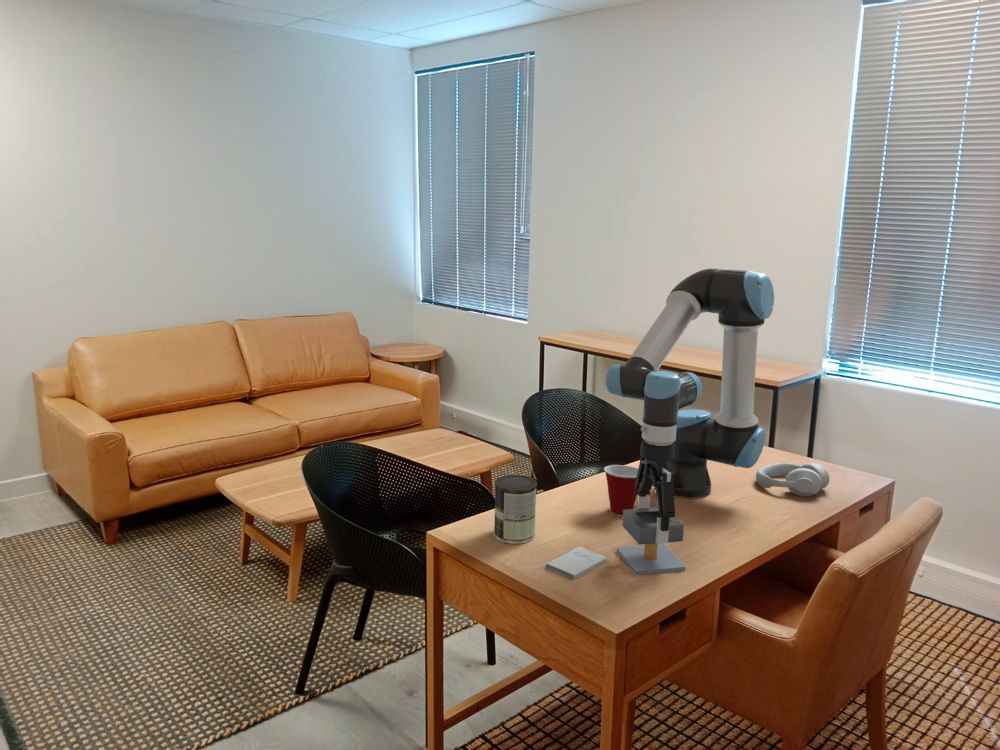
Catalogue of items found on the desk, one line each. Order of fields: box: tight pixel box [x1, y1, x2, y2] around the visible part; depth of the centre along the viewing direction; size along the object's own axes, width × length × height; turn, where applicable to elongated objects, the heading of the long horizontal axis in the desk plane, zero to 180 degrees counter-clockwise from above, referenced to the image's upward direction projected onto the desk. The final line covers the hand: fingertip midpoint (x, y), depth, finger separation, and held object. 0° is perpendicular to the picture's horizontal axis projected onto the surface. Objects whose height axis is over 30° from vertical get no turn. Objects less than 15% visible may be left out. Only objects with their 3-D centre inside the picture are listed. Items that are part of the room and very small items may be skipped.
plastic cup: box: [603, 464, 640, 517], centre depth 209 cm, size 11×11×12 cm
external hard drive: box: [545, 546, 608, 581], centre depth 179 cm, size 2×8×12 cm
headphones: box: [755, 462, 830, 497], centre depth 230 cm, size 18×8×20 cm
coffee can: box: [493, 474, 538, 545], centre depth 192 cm, size 10×10×14 cm
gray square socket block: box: [621, 507, 685, 546], centre depth 179 cm, size 10×10×4 cm
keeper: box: [616, 543, 686, 576], centre depth 181 cm, size 12×12×6 cm
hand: (651, 532), depth 180 cm, fingers closed on gray square socket block, 10 cm apart
